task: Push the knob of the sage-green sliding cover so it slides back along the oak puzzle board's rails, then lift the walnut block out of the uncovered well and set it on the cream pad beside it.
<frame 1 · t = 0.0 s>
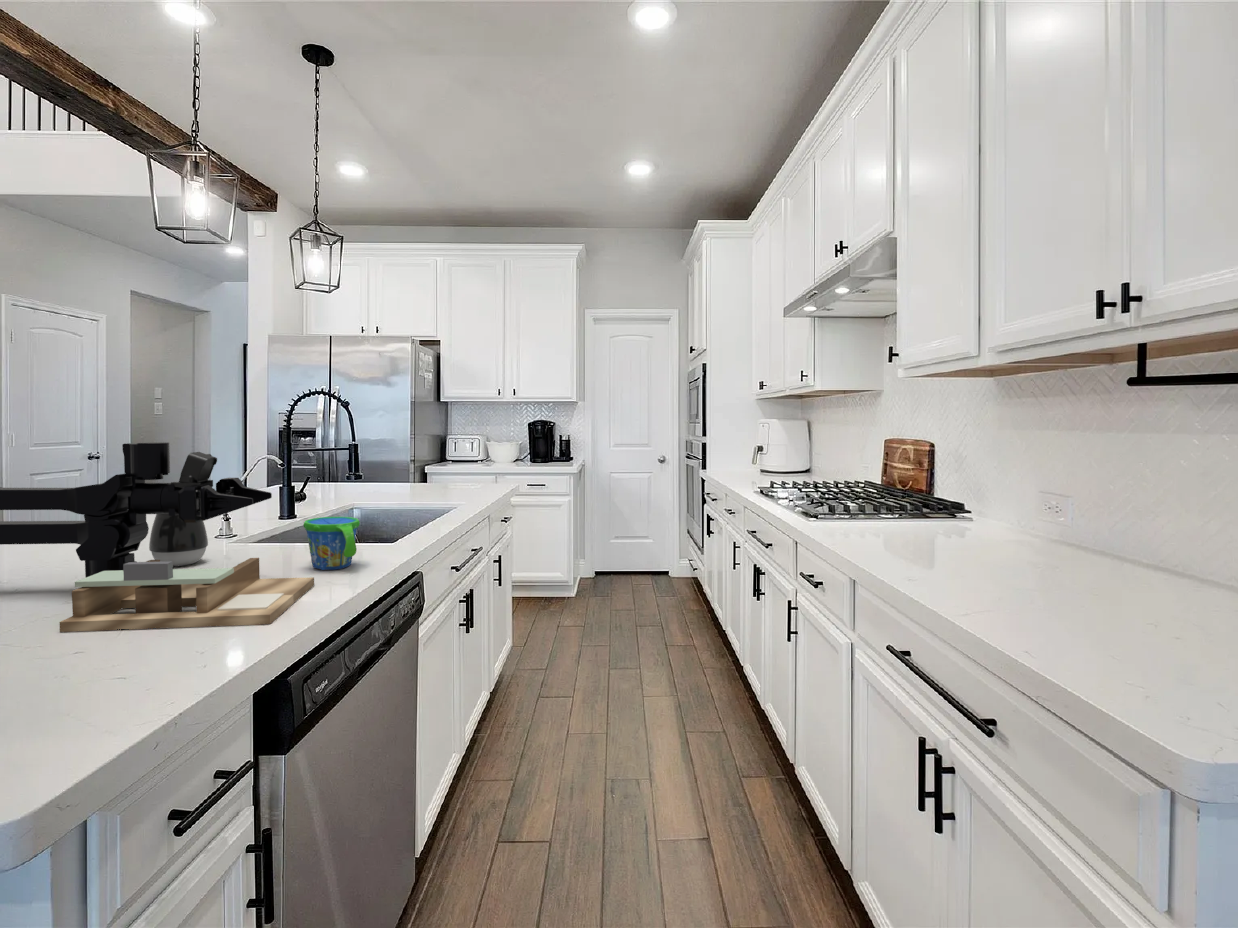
hand: (262, 498, 115), 17 cm above the countertop, tool horizontal, fingers open, 9 cm apart
dark grey rounded dome: (179, 564, 131), on the countertop
sliding cover: (158, 569, 97), point 7 cm above the countertop, slide at 0.0 cm
snack cup: (332, 568, 132), on the countertop
puzzle board: (159, 614, 98), on the countertop
cream pad: (252, 611, 100), resting on puzzle board
walnut block: (159, 615, 98), resting in puzzle board
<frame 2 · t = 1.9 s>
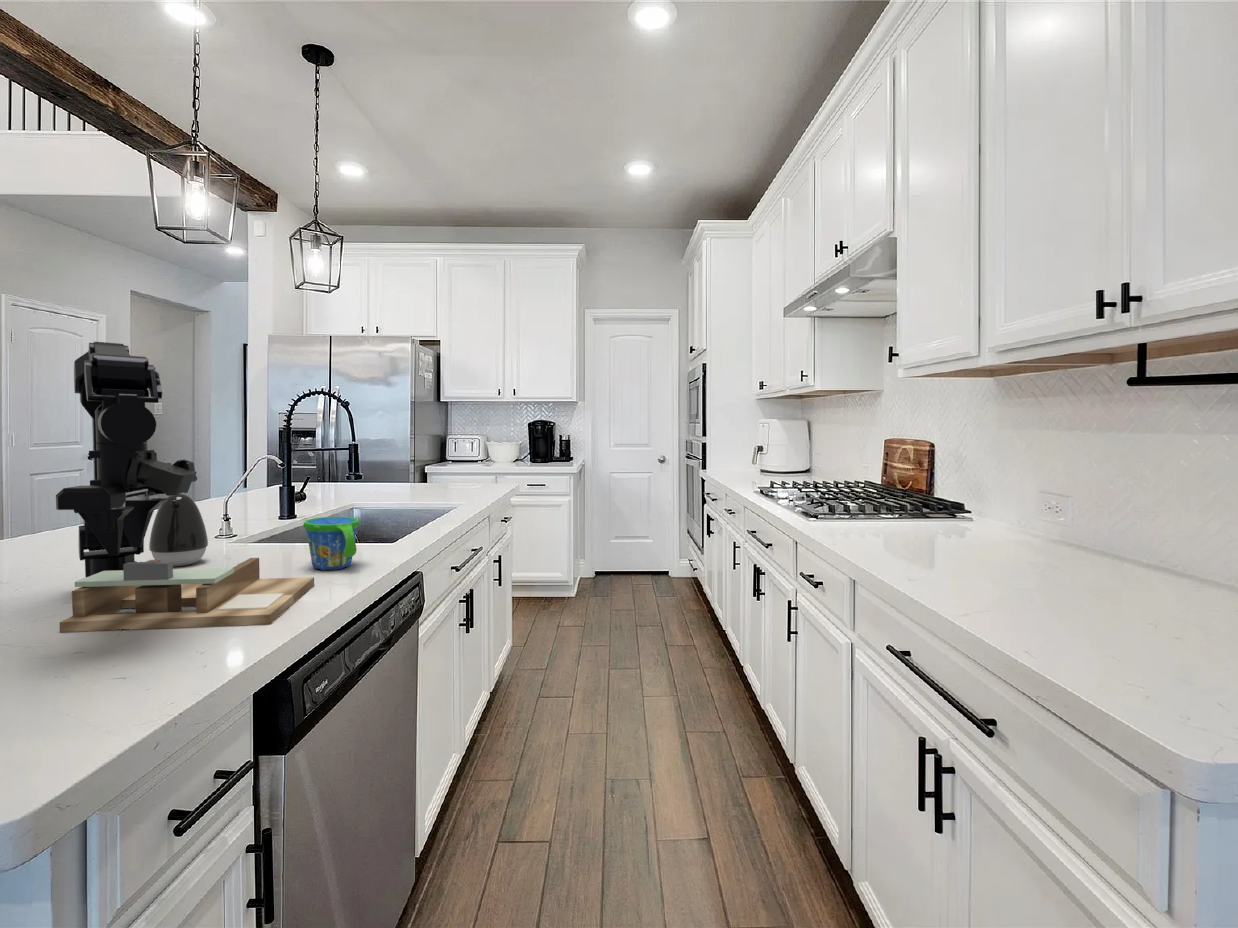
hand: (125, 551, 89), 12 cm above the countertop, tool pointing down, fingers open, 5 cm apart
nothing on the countertop moved.
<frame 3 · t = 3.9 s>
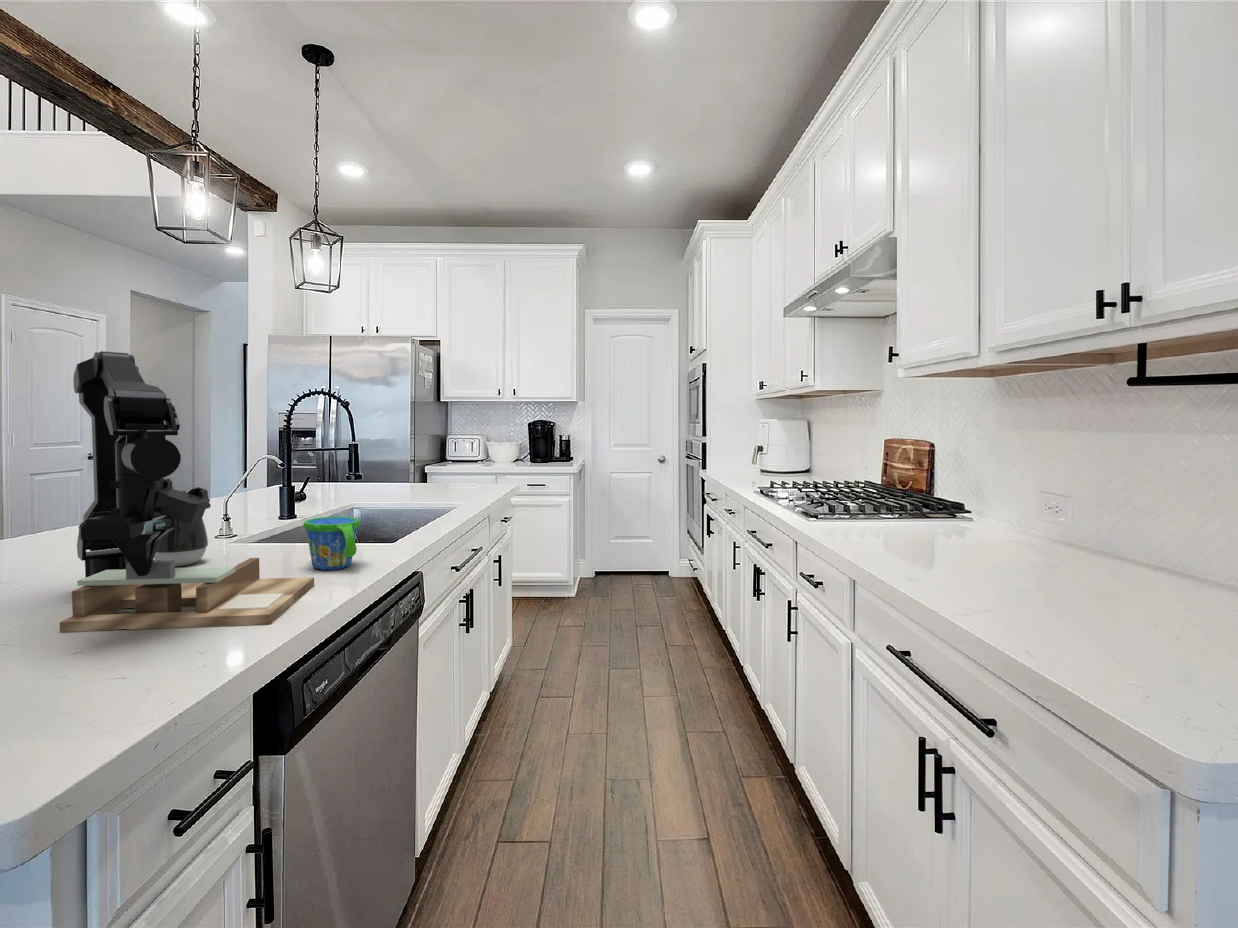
hand: (143, 575, 93), 7 cm above the countertop, tool pointing down, fingers closed
sliding cover: (160, 568, 98), point 7 cm above the countertop, slide at 0.6 cm, touching gripper
everything else where it was.
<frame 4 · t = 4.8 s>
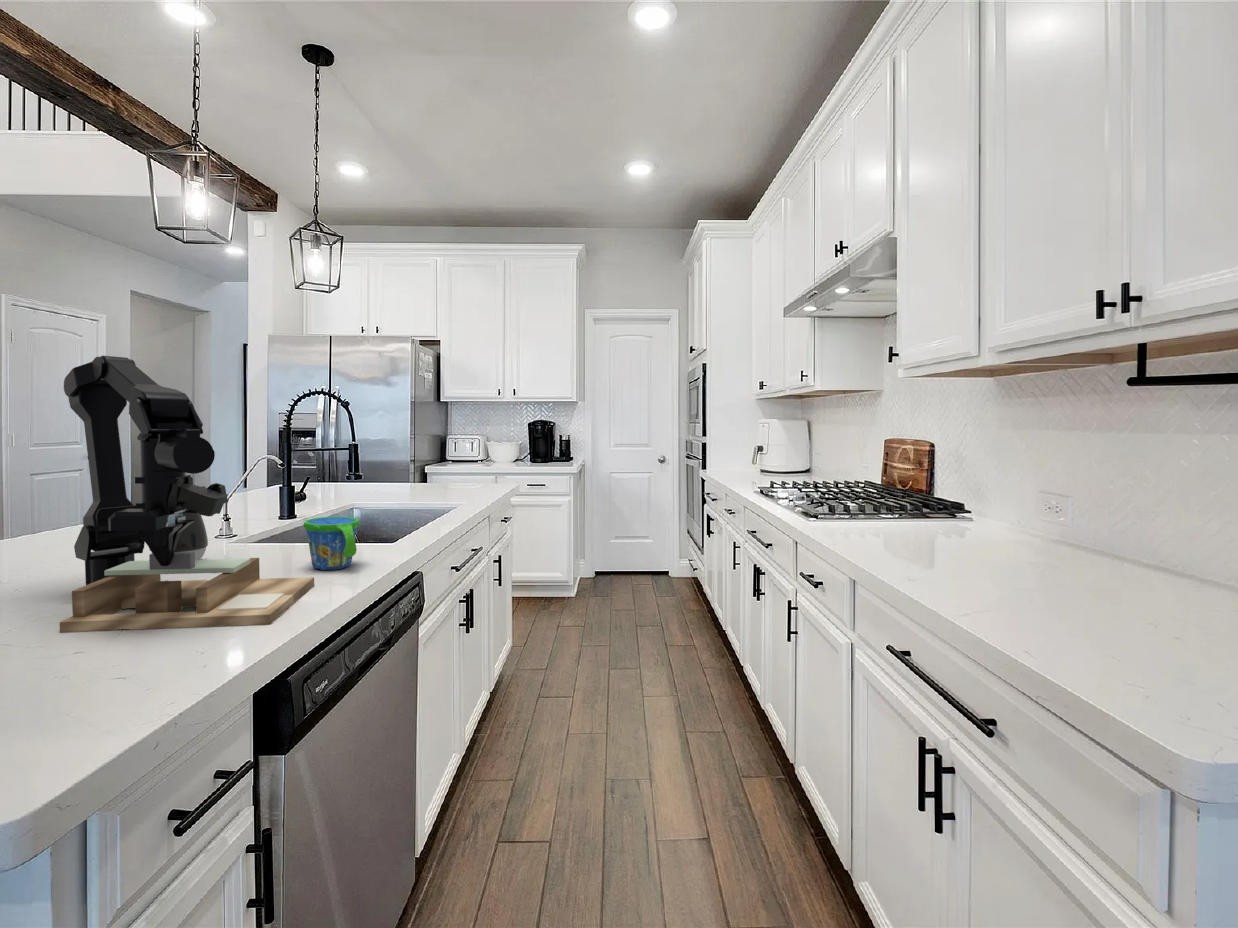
hand: (165, 565, 100), 7 cm above the countertop, tool pointing down, fingers closed
sliding cover: (180, 559, 104), point 7 cm above the countertop, slide at 7.1 cm, touching gripper
everything else where it was.
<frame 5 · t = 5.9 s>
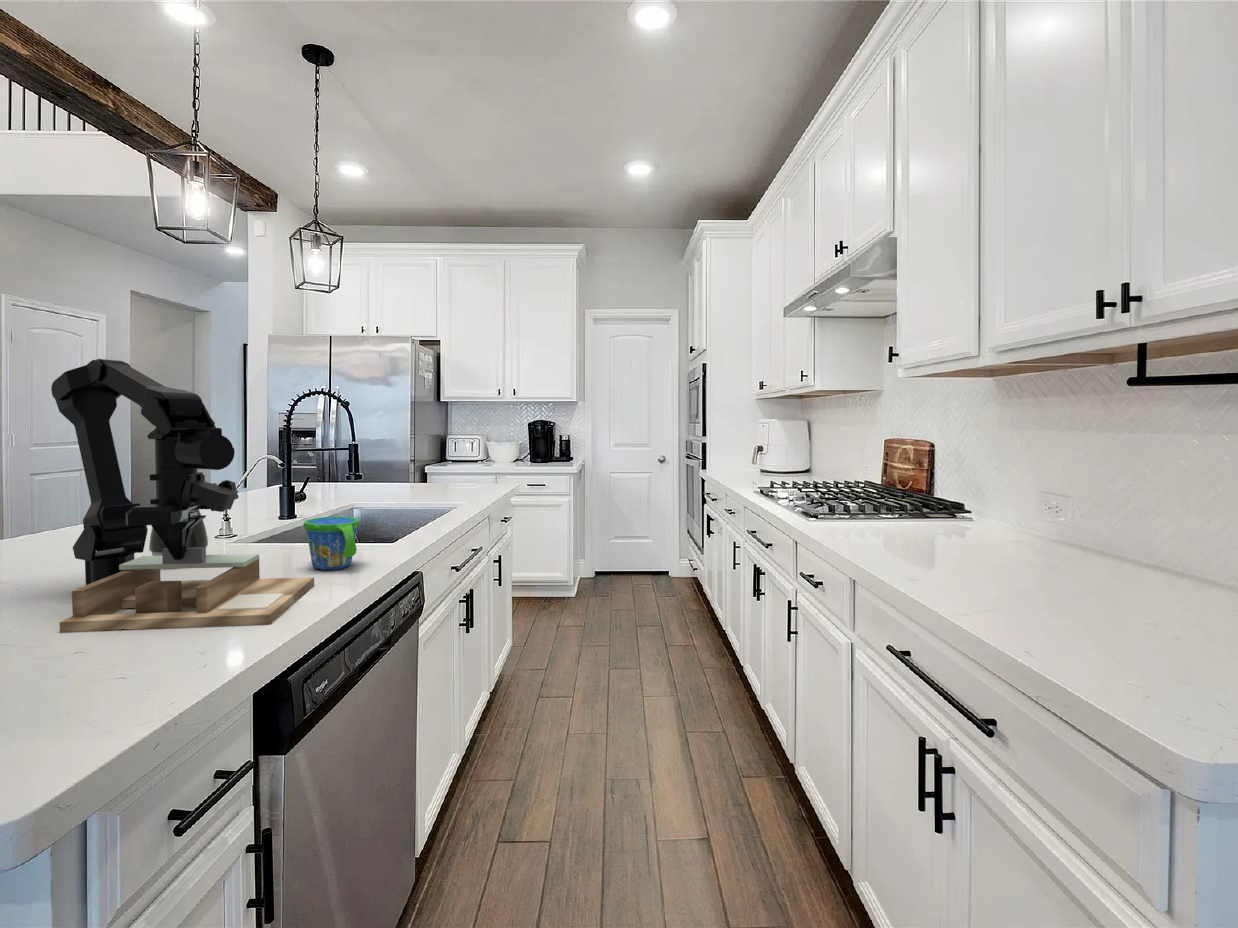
hand: (178, 559, 104), 7 cm above the countertop, tool pointing down, fingers closed
sliding cover: (192, 554, 108), point 7 cm above the countertop, slide at 11.0 cm, touching gripper
everything else where it was.
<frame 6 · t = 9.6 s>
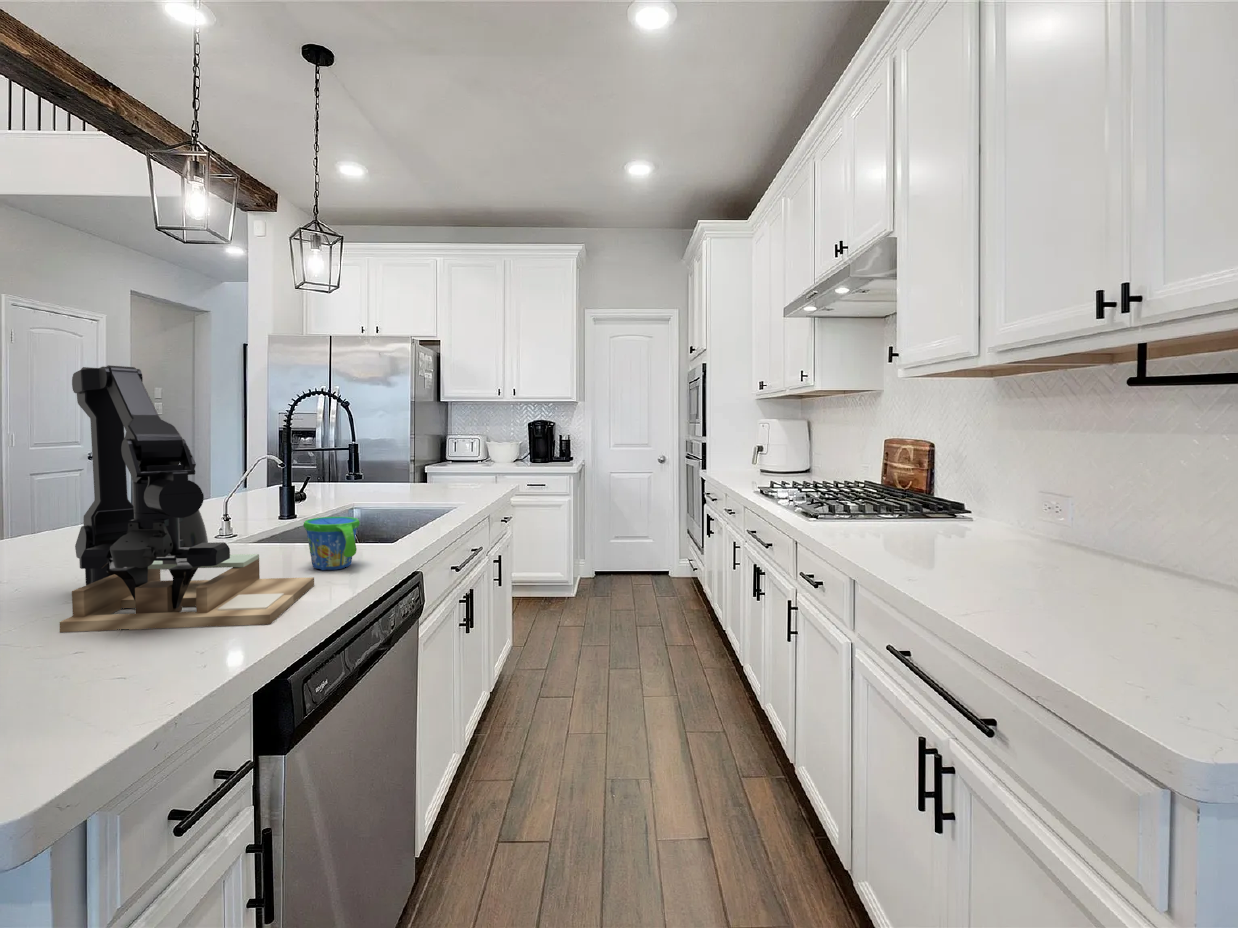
hand: (159, 608, 98), 1 cm above the countertop, tool pointing down, fingers closed on walnut block, 4 cm apart
sliding cover: (192, 554, 108), point 7 cm above the countertop, slide at 11.0 cm
walnut block: (159, 614, 98), resting in puzzle board, touching gripper
everything else where it was.
when the fingers open (4 cm above the countertop, at t = 13.9 s): walnut block drops 1 cm, resting on cream pad.
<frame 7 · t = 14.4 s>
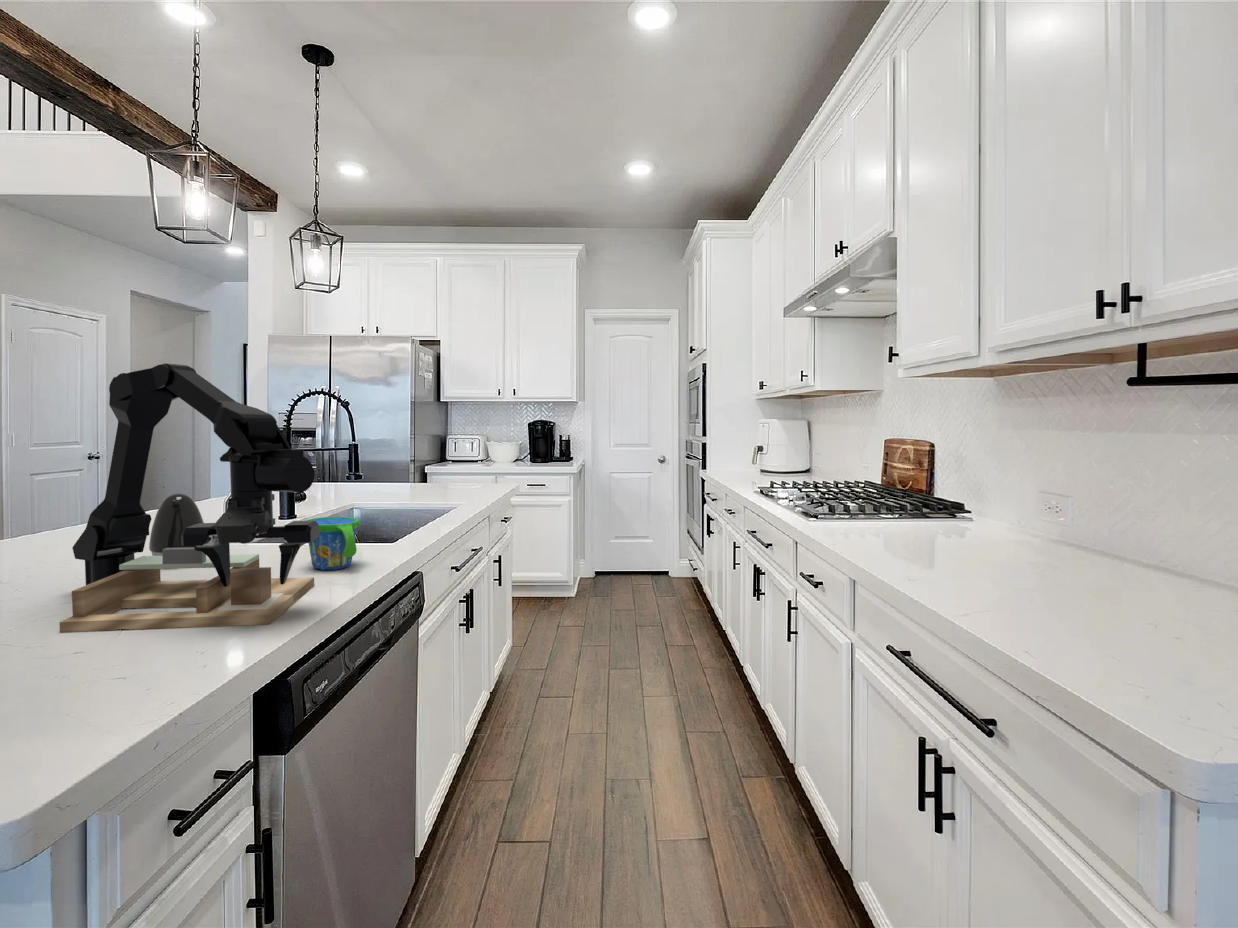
hand: (255, 585, 100), 4 cm above the countertop, tool pointing down, fingers open, 8 cm apart
walnut block: (251, 600, 100), point 2 cm above the countertop, touching cream pad
everything else where it was.
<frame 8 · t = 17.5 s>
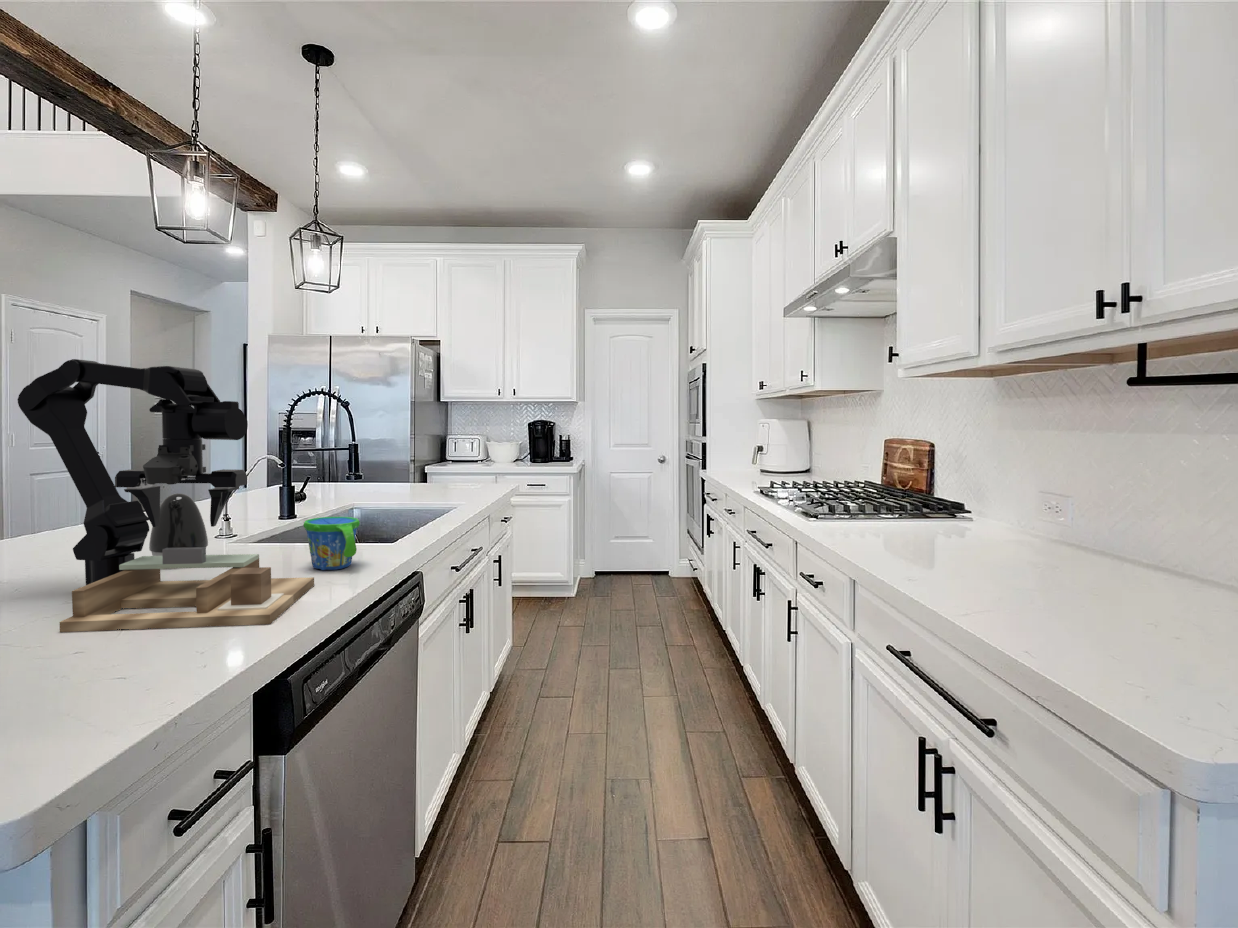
hand: (184, 526, 109), 12 cm above the countertop, tool pointing down, fingers open, 9 cm apart
nothing on the countertop moved.
at the end: sliding cover slide at 11.0 cm; walnut block 0.1 cm from the target spot, point 1.8 cm above the countertop; walnut block tilted 0° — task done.
